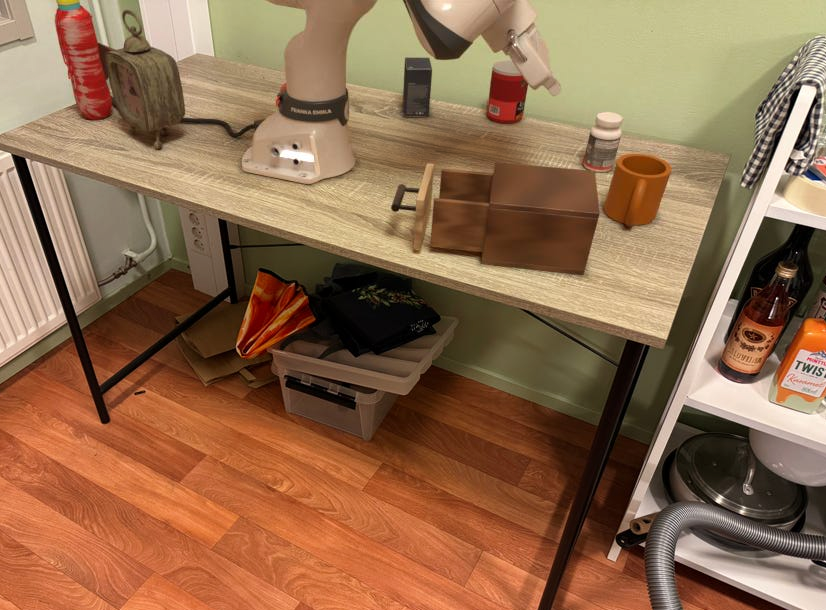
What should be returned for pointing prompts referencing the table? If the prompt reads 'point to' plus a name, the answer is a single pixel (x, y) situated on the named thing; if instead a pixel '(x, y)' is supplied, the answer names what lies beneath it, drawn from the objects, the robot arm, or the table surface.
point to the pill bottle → (603, 142)
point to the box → (417, 87)
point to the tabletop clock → (145, 84)
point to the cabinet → (541, 218)
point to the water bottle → (83, 59)
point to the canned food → (506, 93)
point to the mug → (637, 189)
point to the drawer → (450, 208)
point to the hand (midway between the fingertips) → (557, 91)
